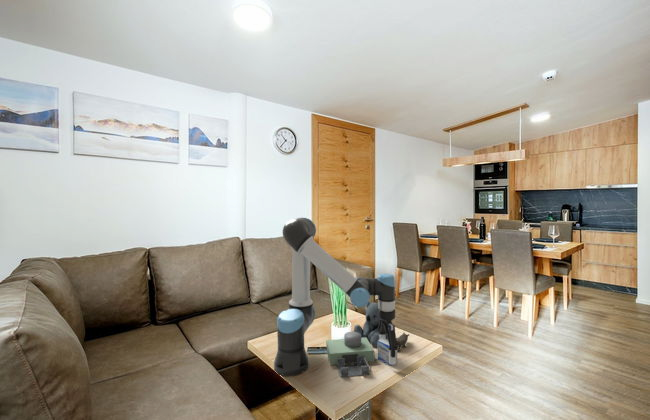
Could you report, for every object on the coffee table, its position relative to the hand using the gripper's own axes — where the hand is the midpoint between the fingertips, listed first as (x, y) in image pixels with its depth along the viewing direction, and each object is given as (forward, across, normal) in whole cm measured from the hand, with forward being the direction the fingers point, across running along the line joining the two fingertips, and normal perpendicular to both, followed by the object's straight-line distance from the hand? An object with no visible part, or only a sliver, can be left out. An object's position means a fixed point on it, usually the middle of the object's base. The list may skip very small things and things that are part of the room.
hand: (387, 355), depth 133 cm
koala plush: (+3, +23, -1) cm, 23 cm away
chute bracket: (+2, -5, +17) cm, 18 cm away
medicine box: (+3, 0, 0) cm, 3 cm away
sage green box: (+2, +7, +16) cm, 18 cm away
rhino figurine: (+3, +12, -12) cm, 17 cm away
